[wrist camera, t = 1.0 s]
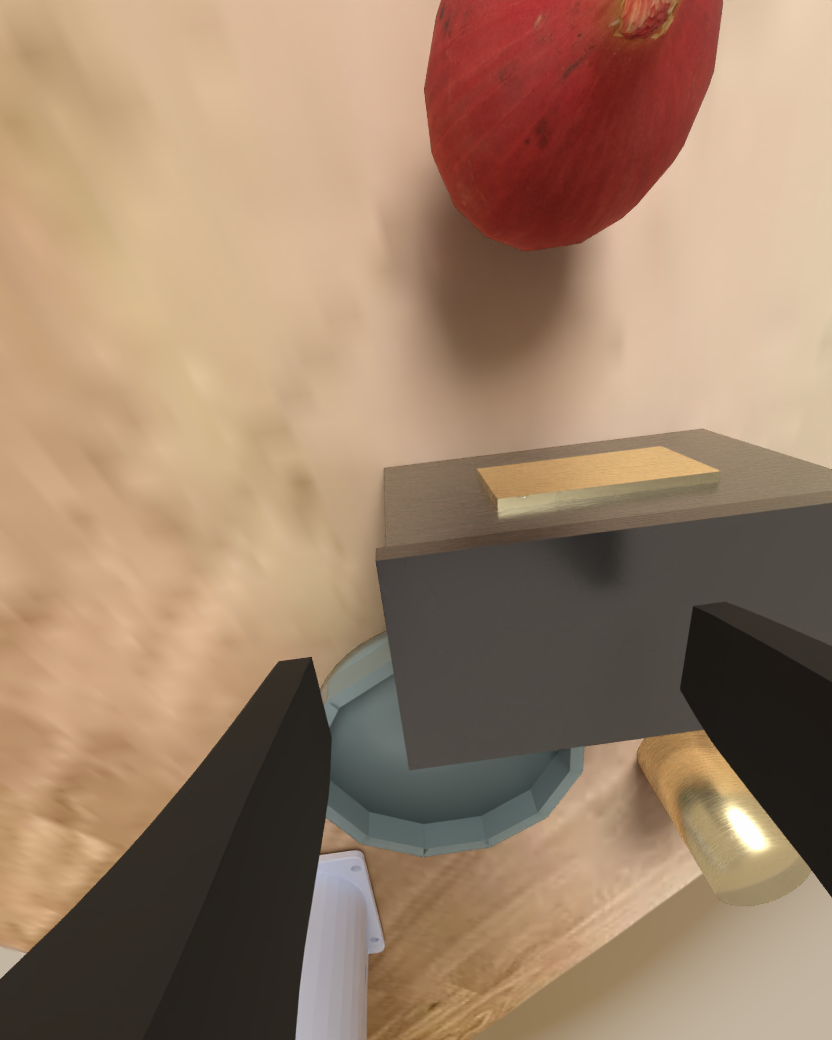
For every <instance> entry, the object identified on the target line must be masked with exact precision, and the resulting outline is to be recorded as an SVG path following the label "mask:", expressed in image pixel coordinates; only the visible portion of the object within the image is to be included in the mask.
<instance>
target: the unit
mask: <svg viewBox="0 0 832 1040" xmlns="http://www.w3.org/2000/svg"><path fill="white" fill-rule="evenodd" d="M384 483H385V531H386V547H383V548H376V566H377V572H378V579H379V585H380V591H381V597H382V604H383V610H384V616H385V622H386V629H387V635H388V641H389V647H390V654H391V660H392V666H393V672H394V679H395V685H396V691H397V697H398V703H399V710H400V716H401V722H402V728H403V735H404V741H405V747H406V753H407V760H408V766H409V771H410V770H417V769H424V768H432V767H439V766H446V765H453V764H461V763H468V762H475V761H482V760H489V759H497V758H504V757H511V756H518V755H525V754H533V753H540V752H547V751H554V750H562V749H569V748H576V747H583V746H590V745H598V744H605V743H612V742H619V741H627V740H634V739H641V738H648V737H655V736H663V735H670V734H677V733H684V732H691V731H699V730H704V729H703V728H702V726H701V724H700V723H699V721H698V720H697V718H696V716H695V715H694V713H693V711H692V710H691V708H690V706H689V704H688V703H687V701H686V699H685V698H684V696H683V694H682V692H681V691H680V685H681V678H682V672H683V666H684V660H685V653H686V647H687V641H688V634H689V628H690V622H691V615H692V609H693V606H696V605H704V604H711V603H719V602H727V603H730V604H733V605H736V606H738V607H741V608H744V609H746V610H749V611H751V612H754V613H756V614H759V615H761V616H763V617H766V618H768V619H770V620H773V621H775V622H778V623H780V624H782V625H785V626H787V627H789V628H791V629H794V630H796V631H798V632H801V633H803V634H805V635H808V636H810V637H812V638H814V639H817V640H819V641H821V642H824V643H826V644H828V645H831V646H832V469H829V468H826V467H823V466H820V465H816V464H813V463H810V462H807V461H804V460H800V459H797V458H794V457H791V456H788V455H784V454H781V453H778V452H775V451H772V450H768V449H765V448H762V447H759V446H756V445H752V444H749V443H746V442H743V441H740V440H736V439H733V438H730V437H727V436H724V435H720V434H717V433H714V432H711V431H708V430H705V429H698V430H690V431H682V432H674V433H665V434H657V435H649V436H641V437H633V438H625V439H617V440H608V441H600V442H592V443H584V444H576V445H568V446H560V447H552V448H543V449H535V450H527V451H519V452H511V453H503V454H495V455H486V456H478V457H470V458H462V459H454V460H446V461H438V462H430V463H421V464H413V465H405V466H397V467H389V468H384Z"/></svg>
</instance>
